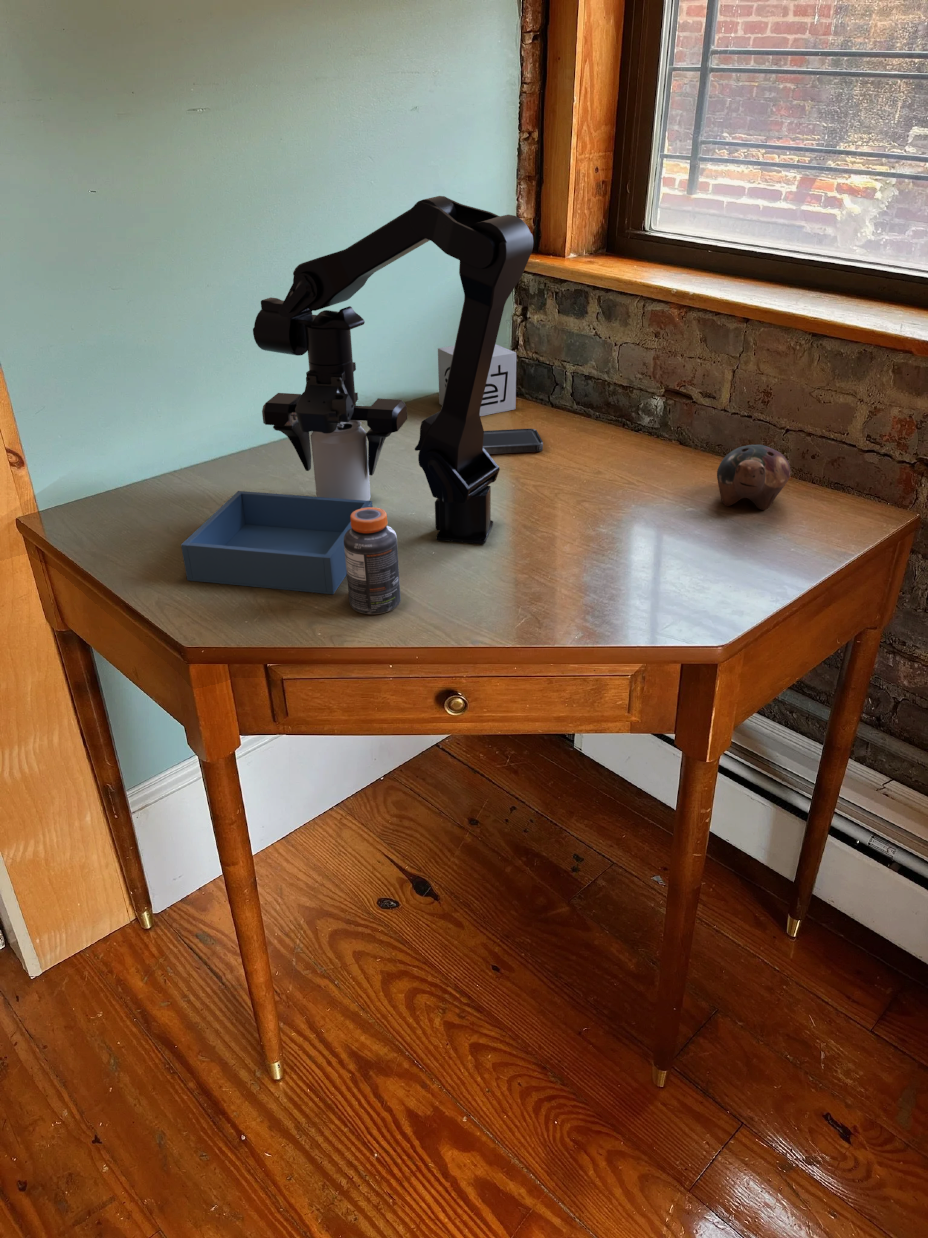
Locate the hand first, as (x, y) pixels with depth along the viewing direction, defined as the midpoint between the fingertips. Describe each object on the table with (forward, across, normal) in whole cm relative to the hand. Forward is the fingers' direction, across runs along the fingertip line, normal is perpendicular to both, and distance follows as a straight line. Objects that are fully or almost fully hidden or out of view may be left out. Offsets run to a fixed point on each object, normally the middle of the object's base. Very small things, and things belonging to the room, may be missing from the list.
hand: (339, 472), depth 132 cm
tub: (+5, -2, -17) cm, 18 cm away
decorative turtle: (+5, +56, +12) cm, 57 cm away
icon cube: (+5, +10, +46) cm, 47 cm away
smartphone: (+4, +17, +27) cm, 32 cm away
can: (+5, 0, 0) cm, 5 cm away
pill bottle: (+5, +13, -26) cm, 30 cm away
